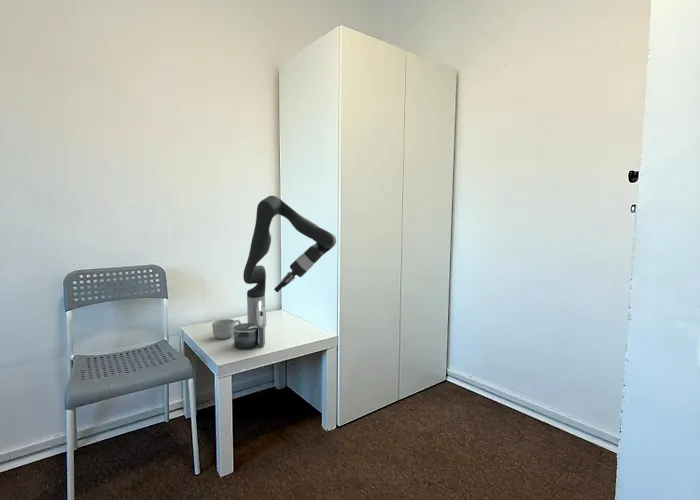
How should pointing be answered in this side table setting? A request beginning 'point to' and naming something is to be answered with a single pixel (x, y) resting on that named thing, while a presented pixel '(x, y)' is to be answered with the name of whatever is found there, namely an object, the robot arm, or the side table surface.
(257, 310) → the lid
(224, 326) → the teacup
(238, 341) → the pot
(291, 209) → the robot arm
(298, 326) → the side table surface
